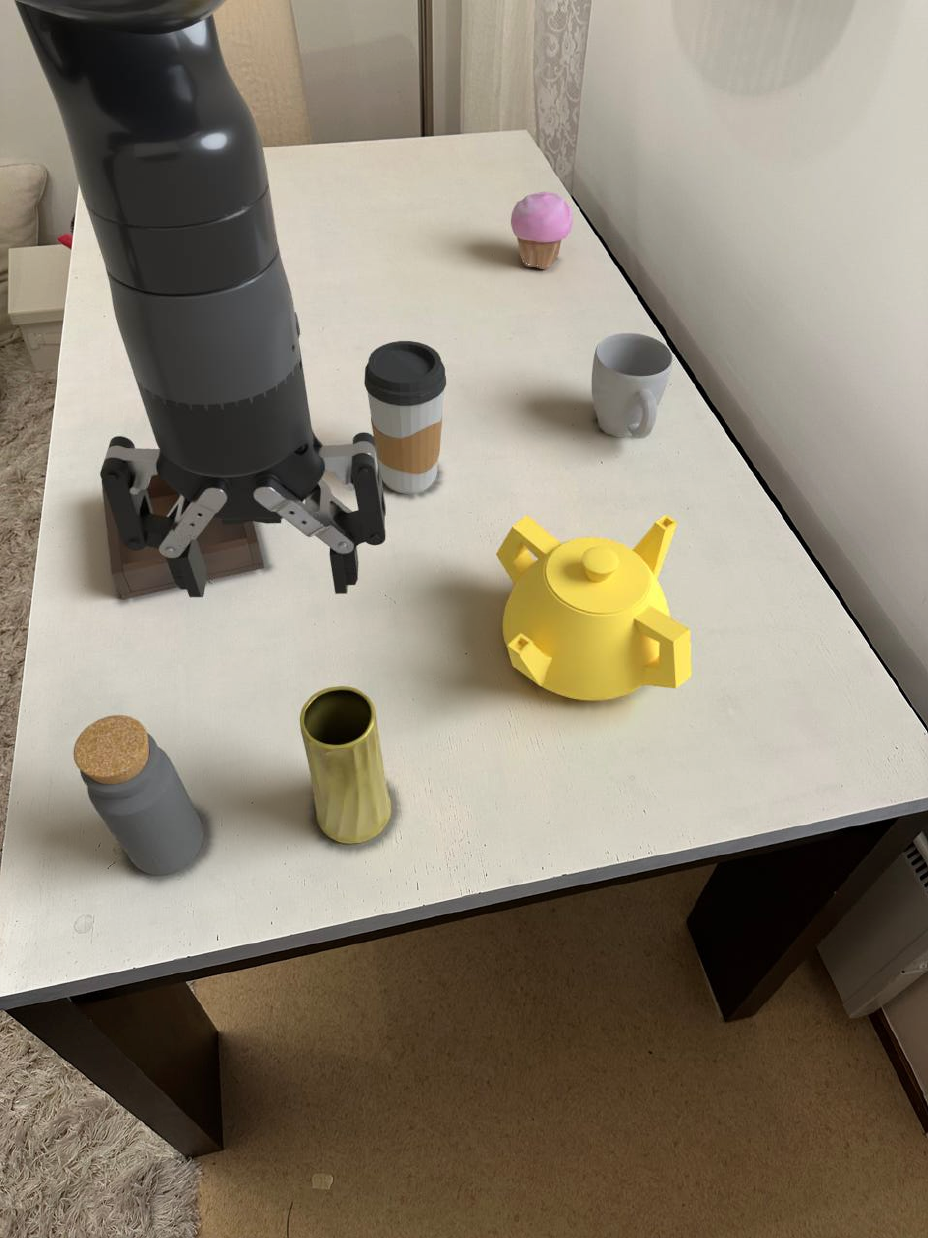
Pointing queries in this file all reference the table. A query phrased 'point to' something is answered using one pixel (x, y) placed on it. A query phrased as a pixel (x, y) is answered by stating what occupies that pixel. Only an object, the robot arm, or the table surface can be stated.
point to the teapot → (592, 613)
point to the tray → (149, 569)
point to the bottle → (139, 795)
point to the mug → (629, 383)
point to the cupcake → (541, 227)
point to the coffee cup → (406, 413)
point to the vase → (345, 764)
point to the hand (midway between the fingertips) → (271, 585)
